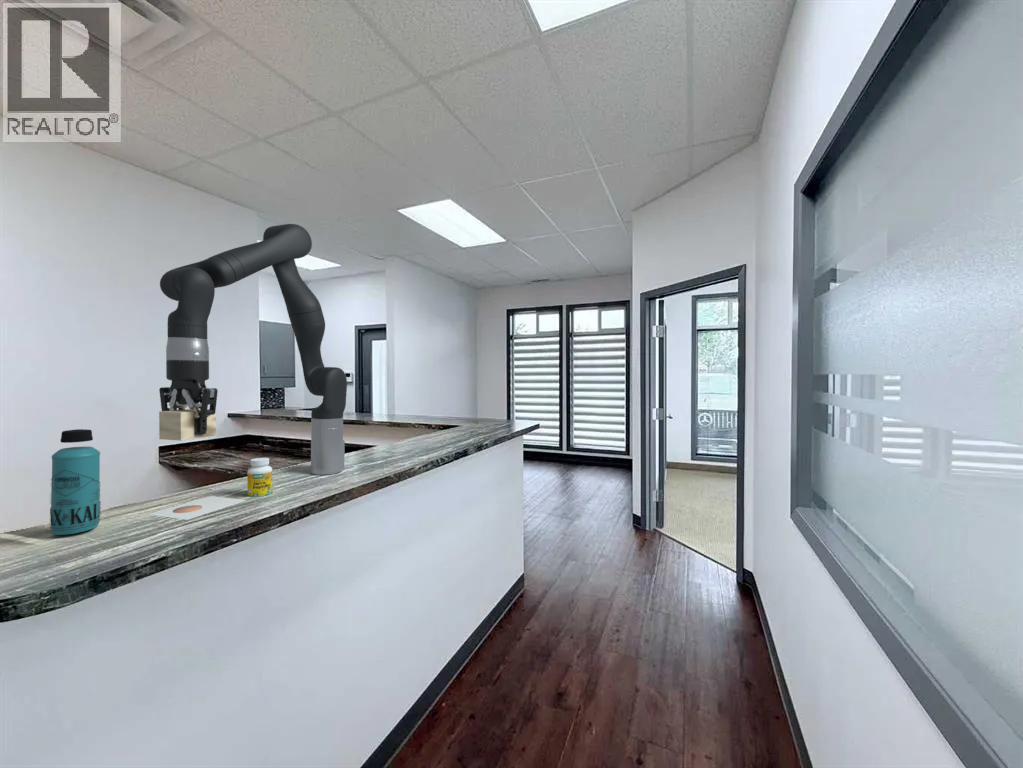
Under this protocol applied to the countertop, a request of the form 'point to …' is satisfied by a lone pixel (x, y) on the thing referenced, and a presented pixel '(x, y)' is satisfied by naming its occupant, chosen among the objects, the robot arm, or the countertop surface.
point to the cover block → (182, 425)
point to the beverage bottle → (75, 485)
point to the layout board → (197, 507)
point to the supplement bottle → (259, 478)
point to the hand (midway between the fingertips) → (188, 433)
